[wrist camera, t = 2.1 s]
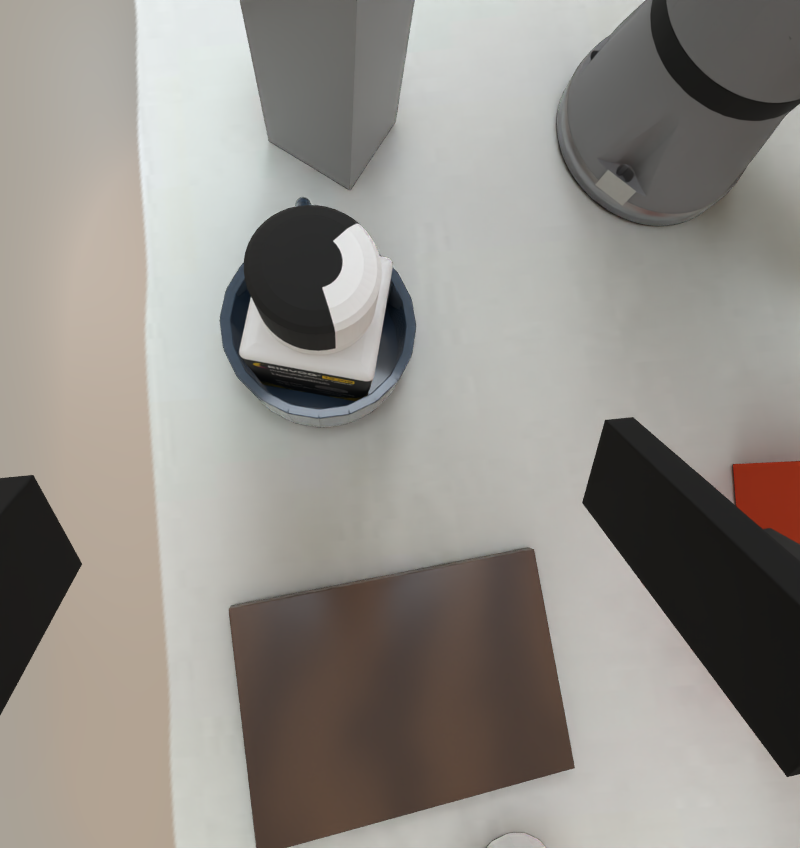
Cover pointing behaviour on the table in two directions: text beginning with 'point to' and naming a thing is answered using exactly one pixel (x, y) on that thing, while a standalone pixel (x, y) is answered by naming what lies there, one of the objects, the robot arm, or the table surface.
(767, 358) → the table surface
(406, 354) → the mug
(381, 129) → the perfume bottle
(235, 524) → the table surface
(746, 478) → the file binder
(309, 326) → the medicine bottle
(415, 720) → the board
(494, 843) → the white short cylinder
